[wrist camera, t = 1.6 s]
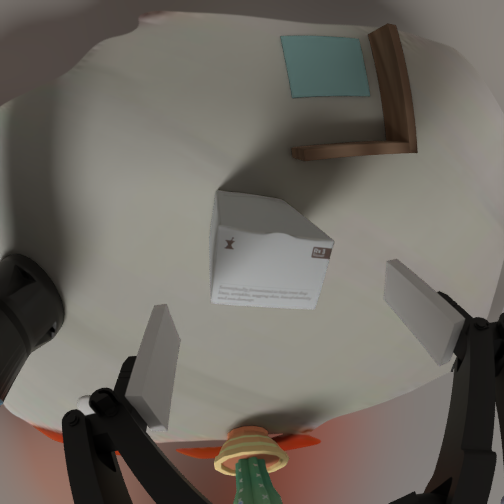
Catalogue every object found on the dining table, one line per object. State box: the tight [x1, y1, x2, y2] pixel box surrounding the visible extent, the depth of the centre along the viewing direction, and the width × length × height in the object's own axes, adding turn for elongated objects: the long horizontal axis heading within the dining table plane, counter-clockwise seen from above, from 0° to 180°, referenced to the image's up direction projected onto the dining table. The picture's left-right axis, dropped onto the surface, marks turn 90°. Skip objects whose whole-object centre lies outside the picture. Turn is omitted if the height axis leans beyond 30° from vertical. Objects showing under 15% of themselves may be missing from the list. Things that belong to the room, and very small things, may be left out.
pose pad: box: [280, 36, 370, 98], centre depth 26 cm, size 10×8×1 cm
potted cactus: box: [214, 426, 289, 504], centre depth 39 cm, size 15×15×25 cm
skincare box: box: [209, 190, 334, 309], centre depth 25 cm, size 8×6×15 cm
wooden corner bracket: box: [291, 24, 418, 161], centre depth 25 cm, size 14×16×5 cm
